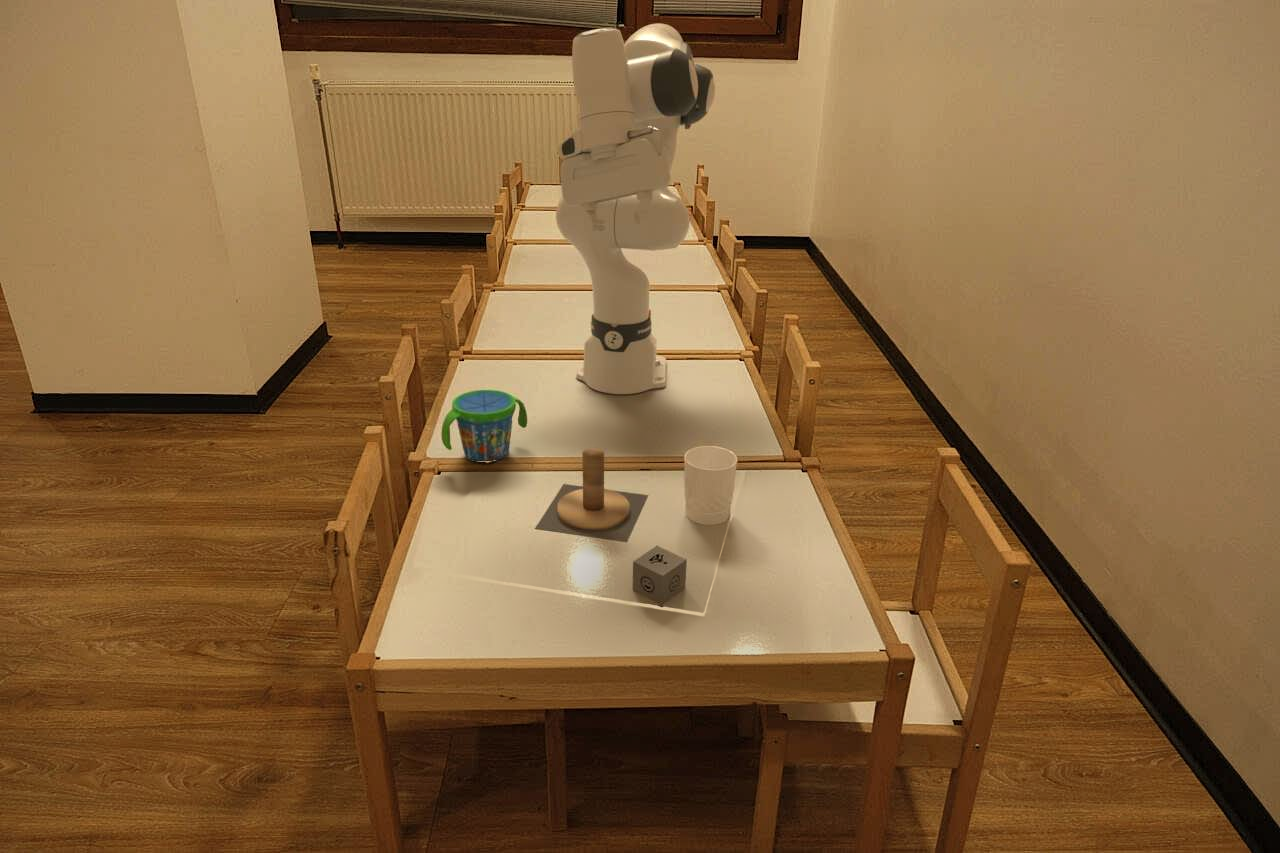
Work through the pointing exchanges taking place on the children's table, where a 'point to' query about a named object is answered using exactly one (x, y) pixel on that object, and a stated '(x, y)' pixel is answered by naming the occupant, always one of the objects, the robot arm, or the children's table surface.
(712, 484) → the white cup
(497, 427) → the snack cup
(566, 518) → the lid
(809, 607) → the children's table surface
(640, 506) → the mat
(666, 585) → the dice cube
